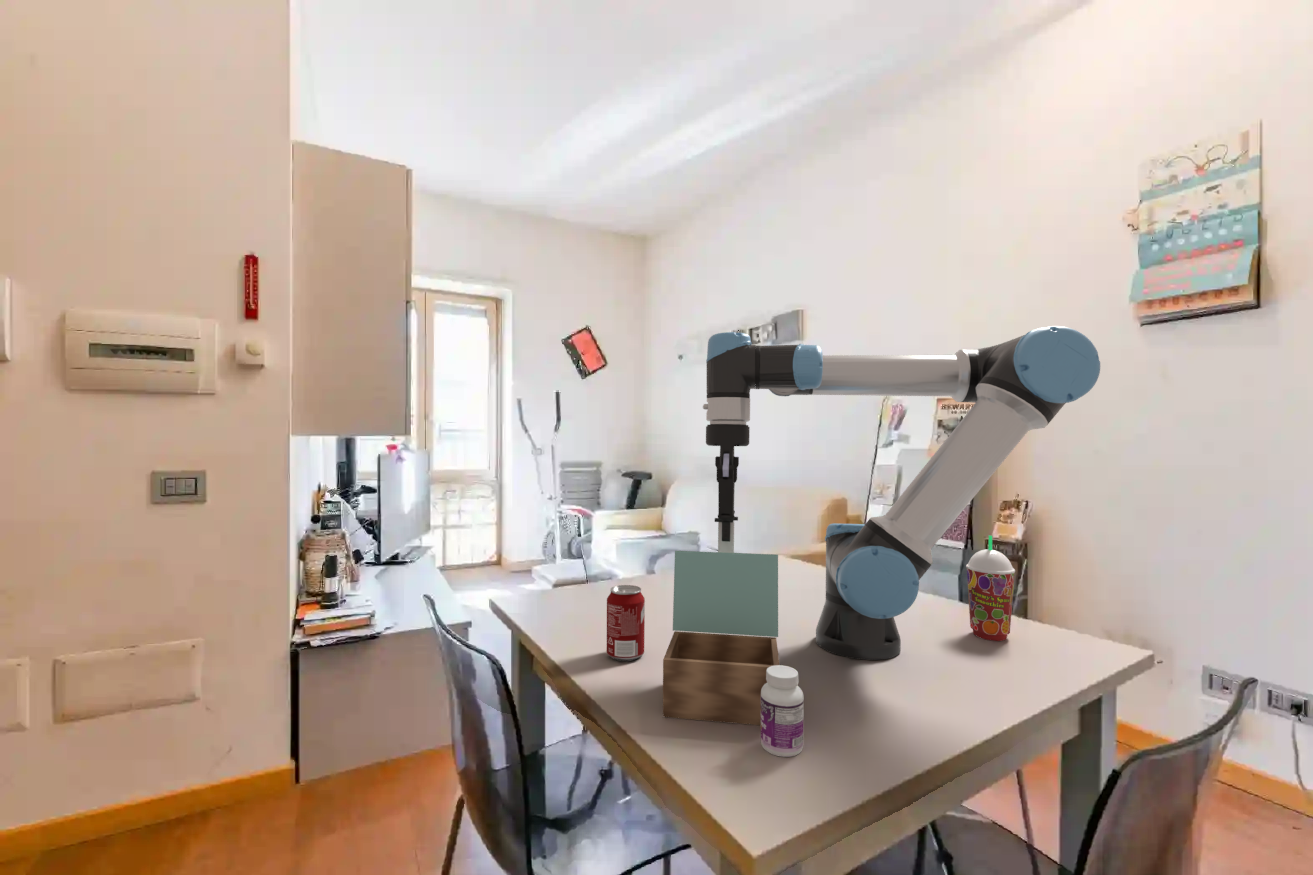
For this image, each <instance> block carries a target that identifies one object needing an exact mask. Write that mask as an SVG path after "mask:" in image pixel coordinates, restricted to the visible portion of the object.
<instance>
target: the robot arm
mask: <svg viewBox="0 0 1313 875" xmlns="http://www.w3.org/2000/svg"><path fill="white" fill-rule="evenodd" d="M706 353H707V354H706V402H707V403H703V405H702V409H703V410H706V413H705V414H706V415H705V416H706V421H707V422H709V424H707V425H706V426H705V444H706V445H707V446H709V447H719V456H716V457H715V458H714V459H715V460H714V462H715V463H714V465H715V467H716V482H717V483H718V486H717V487H718V489H717V490H718V503H717V504H718V506H717V508H718V510H717V512H718V514H717V517H714V522H715V523H717V524H718V525H717V526H718V527H717V528H718V529H717V536H718V537H717V552H727V553H735V521H737V522H738V521H739V516H735V514H736V512H735V486H736V485H735V483H737V480H738V467H739V464H740V463H739V460H740V457H739V456H735V447H747V446H748V445H749V444H750V430H751V429H750V426H749V425H748V424H747V422H750V420H751V390H769V392H771V393H772V394H773V395H775V396H778V397H789V396H794V395H795V396H810V395H811V396H812V395H813V396H818V395H819V396H884V397H887V396H890V397H892V396H894V397H895V396H896V397H950V398H952V399H953V400H954V401H955V402H956V403H974V404H973V406H971V408H970V409H969V411H968V412H967V413H966V415H964V416H963V418H962V419H961V420H960V421H959V422H958V424H957V425H956V426H955V428H954V429H953V430H952V432H951V433H950V434H949V435H948V436H947V437H946V439H945V440H944V442H943V443H942V444H941V445H940V446H939V448H938V449H937V450H936V451H935V453H934V454H933V455H932V456H931V458H929V460H928V461H927V462H926V464H925V465H924V466H923V468H922V469H921V470H920V471H919V472H918V474H917V475H916V476H915V478H914V479H913V480H912V481H911V482H910V483H909V485H908V486H907V487H906V489H905V490H904V491H903V492H902V493H901V495H900V496H899V497H898V498H897V500H896V501H895V502H894V503H893V505H892V506H891V507H890V508H889V510H888V511H887V512H886V513H885V514H884V515H881V516H871V517H870V518H868V519H867V521H866V523H862V524H861V523H835V522H834V523H829V524H828V525H827V527H826V532H825V537H824V541H825V601H824V604H823V608H822V611H821V614H820V617H819V620H818V622H817V625H816V628H815V642H816V644H817V645H818V646H819V647H820V648H821V649H823V650H825V651H827V652H829V653H832V654H835V655H838V656H842V657H845V658H849V659H855V660H856V659H857V660H865V661H866V660H869V661H871V660H873V661H874V660H875V661H877V660H887V659H891V658H894V657H896V656H898V655H900V653H901V649H902V648H901V645H902V644H901V643H902V642H901V636H900V633H899V629H898V627H897V623H896V621H895V617H898V616H900V615H902V614H904V613H905V612H907V611H908V609H910V608H911V607H912V606H913V604H914V603H915V601H916V599H917V597H918V593H919V590H920V589H919V588H920V580H921V579H922V577H923V576H924V575H925V574H926V573H927V571H928V570H929V568H930V567H931V566H932V565H933V564H934V563H933V562H934V561H933V555H932V548H933V547H934V546H935V545H936V543H937V542H938V541H939V540H940V539H941V538H942V537H943V535H944V534H945V533H946V531H947V530H948V529H949V528H950V527H951V525H952V524H954V522H955V520H957V518H958V517H959V516H960V514H962V512H963V511H964V510H965V508H966V507H967V506H968V505H969V503H970V502H971V501H972V500H973V499H974V498H975V497H976V495H977V494H978V493H979V491H980V490H981V489H982V488H983V487H984V485H985V484H986V483H987V482H988V481H989V479H990V478H991V477H992V475H994V474H995V472H997V469H998V468H999V467H1000V466H1001V465H1002V464H1003V463H1004V461H1005V460H1006V459H1007V457H1008V456H1009V455H1010V454H1011V453H1012V451H1013V450H1014V449H1015V448H1016V447H1017V446H1018V444H1020V442H1021V441H1022V439H1023V438H1024V437H1025V436H1026V434H1027V433H1028V432H1030V431H1032V430H1038V429H1045V428H1047V426H1048V425H1049V424H1050V423H1051V421H1052V420H1054V418H1055V417H1056V415H1057V414H1058V413H1059V412H1060V410H1062V408H1064V406H1065V404H1067V403H1072V402H1075V401H1077V400H1078V399H1080V398H1082V397H1083V396H1085V395H1086V394H1088V393H1090V391H1091V390H1092V389H1093V388H1094V387H1095V385H1096V383H1097V381H1098V379H1099V378H1100V377H1099V376H1100V374H1101V361H1100V357H1099V352H1098V350H1097V348H1096V346H1095V345H1094V343H1093V342H1092V340H1091V339H1089V338H1088V337H1087V336H1086V335H1084V334H1083V333H1082V332H1080V331H1079V330H1077V329H1073V328H1072V327H1067V326H1062V325H1061V326H1060V325H1052V326H1047V327H1038V328H1036V329H1035V328H1034V329H1032V330H1030V331H1028V332H1027V333H1025V334H1024V335H1021V336H1018V337H1015V338H1012V339H1010V340H1007V341H1005V342H1002V343H999V344H995V345H992V346H987V347H982V348H981V347H980V348H973V349H967V348H966V349H962V348H961V349H959V350H958V351H956V353H954V354H948V355H947V354H945V355H944V354H939V355H938V354H930V355H929V354H927V355H925V354H924V355H923V354H921V355H920V354H913V355H912V354H911V355H907V354H906V355H905V354H903V355H899V354H897V355H896V354H895V355H893V354H891V355H889V354H887V355H886V354H885V355H884V354H883V355H880V354H879V355H877V354H876V355H875V354H872V355H870V354H869V355H868V354H867V355H858V354H857V355H856V354H855V355H852V354H851V355H849V354H848V355H845V354H844V355H842V354H840V355H834V354H833V355H830V354H829V355H823V350H822V348H821V347H820V345H817V344H804V343H799V344H781V345H779V344H778V345H776V344H775V345H774V344H773V345H756V344H752V340H751V336H750V335H749V334H747V333H744V332H733V331H729V332H718V333H715V334H712V335H711V336H710V337H709V339H708V341H707V351H706Z"/></svg>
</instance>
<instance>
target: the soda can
mask: <svg viewBox="0 0 1313 875" xmlns="http://www.w3.org/2000/svg"><path fill="white" fill-rule="evenodd" d="M645 602H646V601H645V596H644V595H643V594H642V588H641V587H640V586H638V585H632V584H621V585H619V584H618V585H615V586H612V587H611V588H610V593H609V595H608V596H607V598H606V649H605V650H606V651H605V652H606V654H607V656H608V657H610V658H612V659H613V660H615V661H619V662H631V661H634V660H635V661H636V660H637V659H639V658H640V657H642V656H643V655H644V654H645V616H646V614H645V613H646V612H645V611H646V610H645V609H646V608H645V606H646V605H645Z"/></svg>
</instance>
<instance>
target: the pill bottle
mask: <svg viewBox="0 0 1313 875" xmlns="http://www.w3.org/2000/svg"><path fill="white" fill-rule="evenodd" d="M766 680H767V683H766V684H764V686H763V687H762V689H761V725H760V745H761V747H762V748H763V750H764V751H766V752H767V753H768V754H771V755H773V756H777V757H781V758H782V757H783V758H786V757H791V758H792V757H794V756H796V755H799V754H800V753H801V752H802V750H803V749H804V748H803V747H804V703H805V702H804V701H805V700H804V692H803V690H802V688H801V687H800V686H798V684H799V672H798V670H796V669H795V668H793V667H791V666H788V665H782V664H781V665H775V666H770V667H768V668H767V670H766Z"/></svg>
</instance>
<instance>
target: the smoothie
mask: <svg viewBox="0 0 1313 875" xmlns="http://www.w3.org/2000/svg"><path fill="white" fill-rule="evenodd" d="M965 567H966V578H967V580H966V581H967V593H968V594H967V595H968V610H969V611H968V613H969V624H970V626H969V627H970V629H972V633H973V635H974V636H975V637H976V638H977V637H978V638H979V639H981V640H982V639H983V640H987V641H991V642H1001V641H1005V640H1007V637H1008V635H1009V634H1010V633H1011V625H1012V623H1011V622H1012V621H1011V620H1012V612H1013V611H1012V610H1013V598H1014V597H1013V596H1014V587H1015V586H1014V584H1015V572H1016V569H1015V568H1014V566H1013V565H1012V563H1011V561H1010V560H1009V559H1008V557H1007V556H1006V555H1005V554H1003V553H1002V552H1001V551H998V550H995V549H993V535H988V548H987V549H986V548H985V549H981V550H978V551H977V552H975V553H974V554H973V555H972V556H971V557H970V559H969V561H968V563H966V565H965Z"/></svg>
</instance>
